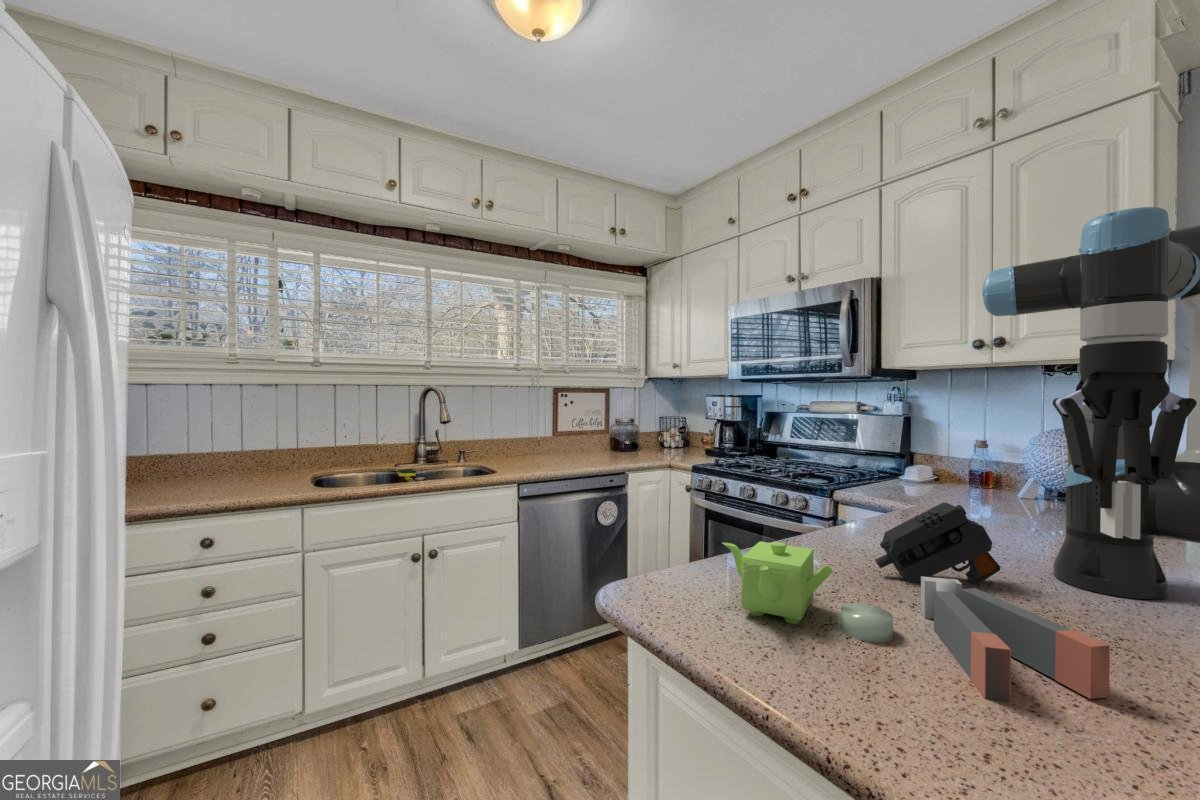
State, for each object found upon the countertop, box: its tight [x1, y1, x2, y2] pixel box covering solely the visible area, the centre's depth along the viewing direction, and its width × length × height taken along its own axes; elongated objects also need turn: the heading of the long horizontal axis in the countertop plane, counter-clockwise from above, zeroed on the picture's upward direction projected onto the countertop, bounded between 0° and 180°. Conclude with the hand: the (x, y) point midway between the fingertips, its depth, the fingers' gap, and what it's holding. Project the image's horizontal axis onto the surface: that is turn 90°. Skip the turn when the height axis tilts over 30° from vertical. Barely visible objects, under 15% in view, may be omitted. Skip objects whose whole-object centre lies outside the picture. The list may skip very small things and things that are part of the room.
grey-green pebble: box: [840, 602, 894, 644], centre depth 78 cm, size 7×7×3 cm
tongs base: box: [920, 576, 1012, 703], centre depth 72 cm, size 24×5×7 cm, turn 164°
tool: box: [874, 501, 1001, 586], centre depth 99 cm, size 6×19×15 cm, turn 78°
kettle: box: [721, 541, 835, 625], centre depth 85 cm, size 15×14×11 cm
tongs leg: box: [961, 587, 1111, 700], centre depth 69 cm, size 18×3×6 cm, turn 9°
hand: (1119, 535), depth 63 cm, fingers closed
